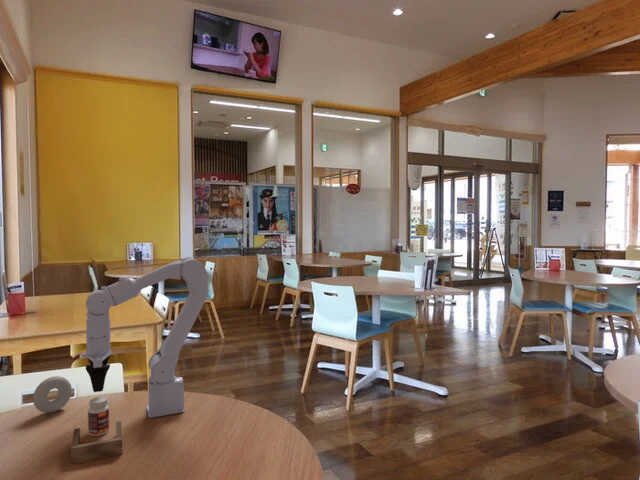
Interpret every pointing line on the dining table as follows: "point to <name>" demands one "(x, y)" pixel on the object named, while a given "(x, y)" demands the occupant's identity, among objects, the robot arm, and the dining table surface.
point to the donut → (43, 390)
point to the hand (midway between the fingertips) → (98, 386)
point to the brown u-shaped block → (96, 447)
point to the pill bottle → (98, 416)
